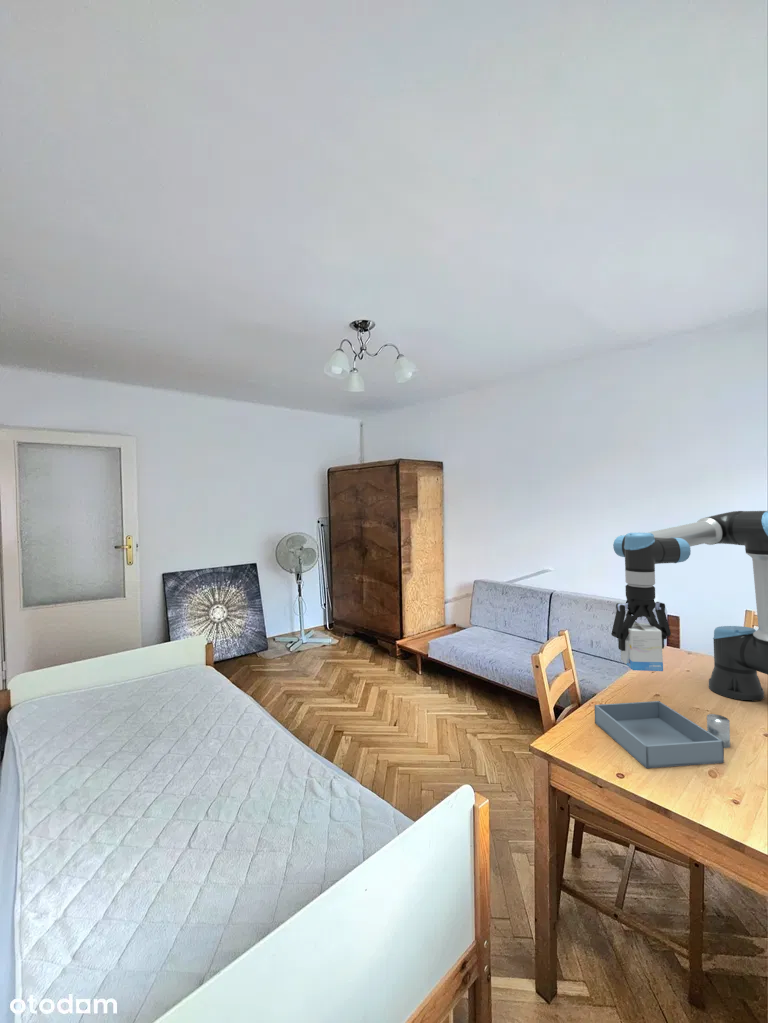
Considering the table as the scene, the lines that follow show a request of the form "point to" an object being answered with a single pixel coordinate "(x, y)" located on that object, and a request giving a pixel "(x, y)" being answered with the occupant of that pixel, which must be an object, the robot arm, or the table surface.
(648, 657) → the ink box
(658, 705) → the tote
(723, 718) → the tin
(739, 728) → the table surface
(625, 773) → the table surface
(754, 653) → the robot arm
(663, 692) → the table surface
